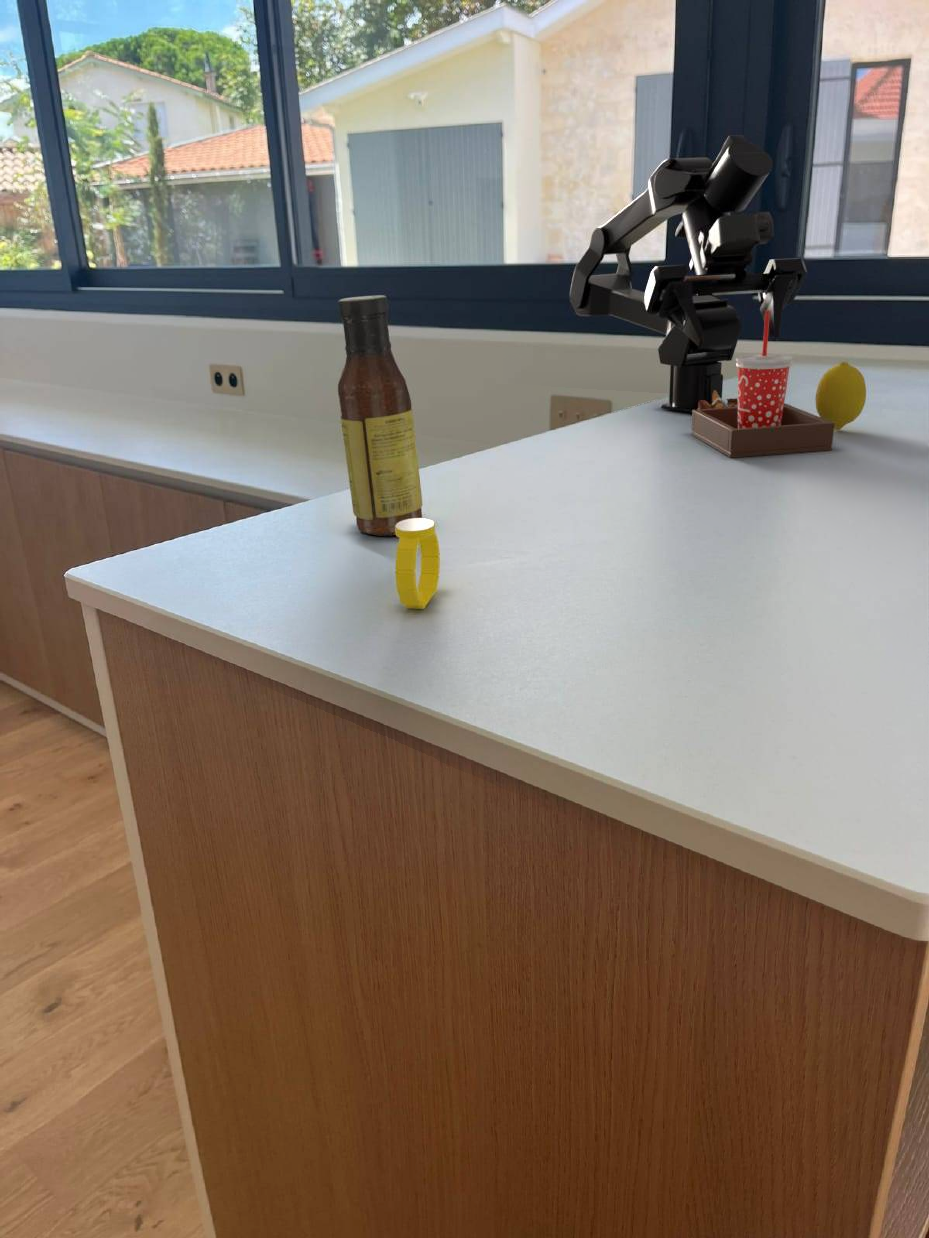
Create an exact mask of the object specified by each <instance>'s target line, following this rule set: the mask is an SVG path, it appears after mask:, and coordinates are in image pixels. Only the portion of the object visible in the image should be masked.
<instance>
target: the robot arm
mask: <svg viewBox="0 0 929 1238" xmlns="http://www.w3.org/2000/svg"><path fill="white" fill-rule="evenodd" d="M772 169H773V161H772V158H771V157H770V154H769V153H768V152H766V151H764V150H763V149H761V148H760V147H759V146H758V145H756V144H754V143H752V142H750V141H747V140H746V138H745V136H744V135H743V134H741V135H739V134H737V135H735V134H734V135H733V134H732V135H728V137H727V138H726V140H725V142H724V143H723V145H722V148H721V150H720V152H719V154H718V155H717V157H716V159H715V160H714V162H713V160H711V159H710V158H709V157H678V158H677V157H676V158H666V159H665V160H663V161H661V163H660V164H659V165H658V166H657V168H656V169H655V171H654V172H653V173H652V174H651V176H650V177H649V178H648V187H647V188H646V189H645V191H644V192H642V193H641V194H640V195H639V196H638V197H636V198H635V199H633V201H631V202H630V203H629V204H628V205H626V206H625V207H624V208H623V209H622V210H620V211H619V212H618V213H617V214H615V215H614V216H613V217H611V219H609V220H608V221H606V223H604V224H603V225H599V226H598V227H596V228H594V230H593V231H592V233H591V236H590V241H589V246H588V248H587V250H586V251H585V252H584V254H583V255H582V257H581V258H580V260H579V261H578V263H577V264H576V265H575V267H574V270H573V276H572V279H571V285H570V288H569V289H570V290H569V302H570V305H571V307H572V308H573V311H574V313H575V314H576V315H578V316H579V317H606V316H612V317H614V318H617V319H620V320H623V321H626V322H628V323H632V324H635V325H637V326H640V327H643V328H646V329H647V330H648V329H649V330H651V331H654V332H657V333H660V334H664V335H665V337H664V338H663V340H662V341H661V342H660V344H659V346H658V347H657V352H658V358H659V363H660V364H661V365H667V366H670V367H669V369H670V370H669V395H668V403H663V404H660V408H661V409H662V410H663V409H664V410H669V411H676V412H677V411H678V412H684V413H690V414H692V410H698V405H699V401H700V400H704V401H706V402H708V403H709V404H712V403H713V402H712V401H713V400H712V399H713V397H712V394H713V392H714V390H715V391H717V393H718V395H719V396H720V398H721V399H722V400H723V386H724V374H722V366H723V363H722V362H725V361H726V362H730V361H732V360H733V358H734V354H735V351H736V348H737V344H738V341H739V339H740V335H741V331H742V323H741V319H740V317H739V316H738V310H737V309H736V308H735V307H734V306H733V305H729V302H730V299H729V298H728V299H727V298H726V299H718V298H717V297H716V296H727V295H728V296H730V295H746V294H757V298H758V302H759V303H760V304H761V306H760V308H759V311H760V314H761V316H762V319H763V322H764V323H765V311H770V317H769V330H768V336H769V337H770V339H771V340H772V341H773V342H777V341H778V339H779V337H780V331H781V323H782V317H783V316H782V315H783V310H784V309H785V308H786V307H787V306H789V305H790V304H793V303H794V301H795V298H796V297H797V295H798V293H799V291H800V289H801V287H802V286H803V283H804V282H805V279H806V277H807V275H808V271H807V267H806V264H805V262H804V260H803V259H802V258H801V257H792V258H791V257H790V258H773V259H769V261H768V263H767V265H766V268H765V270H764V271H763V273H749V274H748V273H747V270H746V267H750V266H751V264H752V262H753V260H754V256H753V253H752V251H754V249H755V247H757V246H759V245H766V244H767V243H768V242H769V241H770V240H771V239H772V237H773V236H774V234H775V233H774V232H775V229H774V221H773V218H772V216H771V212H770V211H757V212H754V213H745V214H743V213H742V214H731V213H739V212H742V211H744V210H745V209H746V208H747V207H748V204H750V202H751V200H753V197H754V196H755V194H756V193H757V192H758V191H759V189H760V187H762V185H763V183H764V182H765V180H766V179H767V177H768V176H769V174H770V173H771V171H772ZM681 214H682V215H681ZM676 215H681V221H680V222H679V224H678V226H677V227H676V230H675V232H674V233H675V234H674V235H675V238H678V239H684V240H686V241H687V244H688V248H689V252H690V253H689V254H690V256H691V259H690V261H689V268H690V271H691V272H692V271H694V273H695V274H688V269H687V266H686V264H675V265H673V264H671V265H657V266H654V268H652V270H651V271H650V274H649V278H648V281H647V284H646V288H645V291H641V290H638V289H634V288H633V286H632V281H633V278H634V271H633V270H634V269H633V267H632V263H631V259H630V253H631V248H632V246H633V245H634V244H636V243H637V242H639V241H640V240H641V239H642V238H644V237H646V236H647V235H648V234H650V233H651V232H652V231H654V230H655V229H657V228H658V227H659V226H661V225H662V224H664V222H666V221H667V220H669V219H670V218H671V217H674V216H676ZM608 255H609V256H610V255H615V256H616V257H615V258H616V260H617V264H618V266H617V270H616V273H607V274H594V272H595V271H596V270H597V268H598V267H599V265H600V264H601V263H602V261H603V259H604V258H605V256H608ZM593 274H594V275H593ZM687 274H688V275H687ZM693 295H694V296H693Z"/></svg>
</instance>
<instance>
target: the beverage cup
mask: <svg viewBox="0 0 929 1238" xmlns="http://www.w3.org/2000/svg"><path fill="white" fill-rule="evenodd" d="M769 317H770V311H765V322H764V324H763V325H764V326H763V339H762V353H754V354H753V353H752V354H743V355H739V356H737V357H735V366H736V367H737V399H738V429H740V428H753V427H767V426H780V425H781V422H782V415H783V408H784V403H785V401H786V393H787V388H788V387H787V386H788V380H789V375H790V374H789V373H790V367H791V366H793V361H794V357H793V356H792V355H788V354H787V355H786V354H777V353H768V344H769V343H768V341H769V333H768V330H769Z"/></svg>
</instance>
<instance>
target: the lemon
mask: <svg viewBox="0 0 929 1238" xmlns="http://www.w3.org/2000/svg"><path fill="white" fill-rule="evenodd" d="M866 400H867V387H866V381H865V377H864V376H863V373H862V372H861V371H860V370H859V369H858V368H857V367H854V366H853V365H851V364H849V363H848V361H841V362H839V364H838V365H834V366H833V367H831V368H829V369H828V370H827V371H825V373H824V374H823V375H822V376H821V377H820V380H819V382H818V385H817V387H816V393H815V409H816V412H817V414H818V417H821V418H823V419H826V420H828V421H831V422H833V423H834V431H840V430H841V429H842V428H844V427H845V426H846V425H849V424H851V423H853V422H854V421H855V420H856V419H857V418H858V417H859V416H860V414H862V411H863V409H864V407H865V404H866Z"/></svg>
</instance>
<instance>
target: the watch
mask: <svg viewBox="0 0 929 1238" xmlns="http://www.w3.org/2000/svg"><path fill="white" fill-rule="evenodd" d="M395 534H396V535H395V536H396V537H397V538H399V540H398V544H397V546H396V547H397V548H396V553H395V565H394V570H395V572H394V575H395V586H396V592H397V595H398V598H399V600H400V603H401V605H403V606H404V607H405V608H406V609H412V610H413V609H415V610H425V608H426V607H427V605H428V604H429V602H430V601H431V599H432V598H433V596H434V594H436V593H437V589H438V583H439V579H440V567H441V566H440V564H441V562H440V561H441V560H440V559H441V558H440V555H441V553H440V546H439V540H438V539H439V537H438V536H437V533H436V524H435V522H434V521H433V520H432V519H429V518H424V517H422V518H412V519H406V520H403V521H400V522H398V523H397V524H396V525H395ZM418 549H419V550H420V574H419V578H418V579H419V580H418V585H417V577H416V568H417V567H416V565H417V555H418V554H417V553H418Z"/></svg>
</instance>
